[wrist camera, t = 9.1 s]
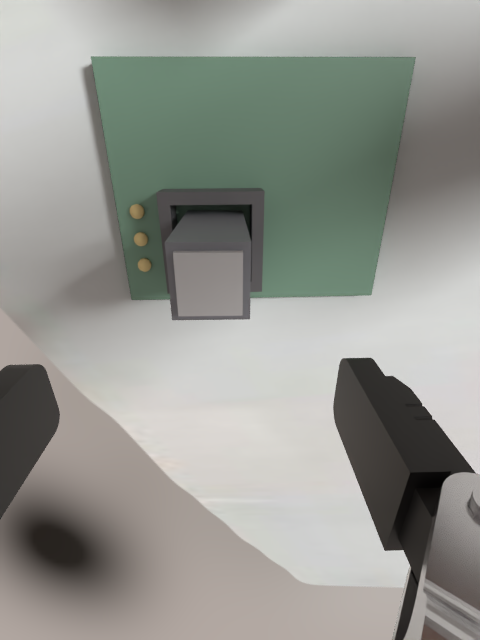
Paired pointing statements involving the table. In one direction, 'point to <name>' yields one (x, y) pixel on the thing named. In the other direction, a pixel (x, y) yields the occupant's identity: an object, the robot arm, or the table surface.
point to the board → (256, 161)
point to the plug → (209, 266)
